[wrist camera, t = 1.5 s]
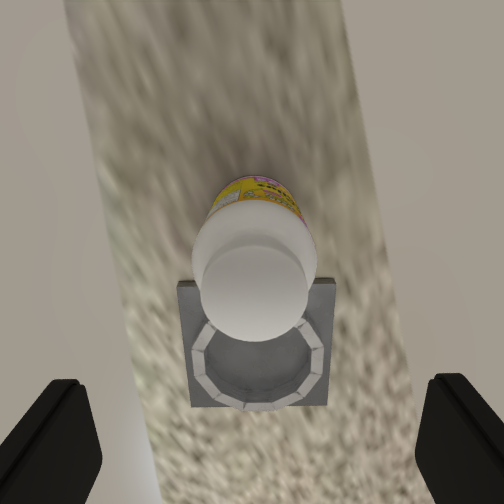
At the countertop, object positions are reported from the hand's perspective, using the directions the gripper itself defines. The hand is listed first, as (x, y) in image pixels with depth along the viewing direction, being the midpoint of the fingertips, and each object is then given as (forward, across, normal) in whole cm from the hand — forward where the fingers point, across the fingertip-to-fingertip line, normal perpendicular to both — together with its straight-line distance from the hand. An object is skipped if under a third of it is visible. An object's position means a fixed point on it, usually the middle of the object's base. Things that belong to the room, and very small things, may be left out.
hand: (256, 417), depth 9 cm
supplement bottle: (+19, 0, -1) cm, 19 cm away
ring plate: (+19, 0, +11) cm, 22 cm away
